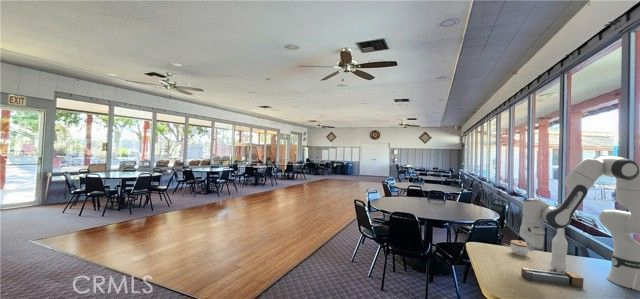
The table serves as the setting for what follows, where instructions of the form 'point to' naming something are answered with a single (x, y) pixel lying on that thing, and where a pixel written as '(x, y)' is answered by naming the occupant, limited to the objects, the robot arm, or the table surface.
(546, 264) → the table surface
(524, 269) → the tong arm
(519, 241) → the lidded jar
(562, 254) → the water bottle
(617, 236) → the robot arm
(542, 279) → the tong base
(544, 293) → the table surface
